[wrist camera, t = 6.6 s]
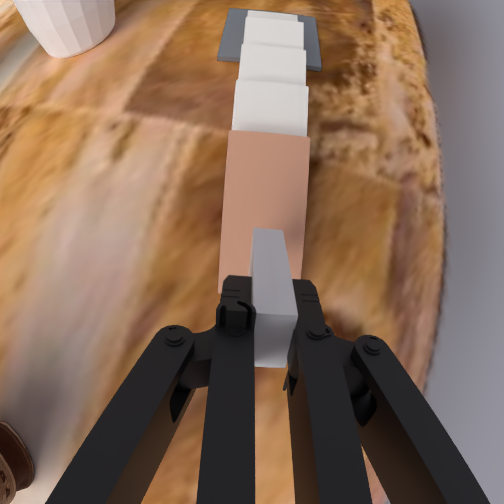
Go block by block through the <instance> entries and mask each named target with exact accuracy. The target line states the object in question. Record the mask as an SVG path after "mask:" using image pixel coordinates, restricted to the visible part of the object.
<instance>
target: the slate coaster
mask: <svg viewBox="0 0 504 504" xmlns="http://www.w3.org/2000/svg"><path fill="white" fill-rule="evenodd" d="M248 10H251V9H235V8H229V12H228V15H227V19H226V23H225V27H224V31H223V35H222V39H221V43H220V47H219V52H218V56H217V61H232V62H240V57H241V47H242V44H243V42H244V31H245V21H246V17H247V16H248ZM251 11H263V10H251ZM264 12H273V11H264ZM274 13H281V12H274ZM283 14H289V13H283ZM291 15H296V14H291ZM297 18H298V22H304V48H303V50H306V69H307V70H314V71H319V72H320V71H321V68H322V66H321V57H320V49H319V41H318V34H317V27H316V20H315V17H309V16H303V15H297Z"/></svg>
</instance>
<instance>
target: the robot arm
mask: <svg viewBox="0 0 504 504" xmlns="http://www.w3.org/2000/svg"><path fill="white" fill-rule="evenodd" d="M287 361H288V372H287V375H286V379H285V383H284V386H283V390H284V391H286V387H287V396H288V408H289V421H290V434H291V447H292V461H293V475H294V490H295V504H372V498H371V493H370V488H369V482H368V477H367V472H366V467H365V462H364V457H363V452H362V447H363V449H364V451H365V453H366V455H367V457H368V459H369V461H370V463H371V465H372V467H373V469H374V471H375V473H376V475H377V477H378V479H379V481H380V483H381V485H382V487H383V489H384V491H385V493H386V495H387V497H388V499H389V501H390V503H391V504H490V502H489V501H488V499H487V497H486V495H485V494H484V492H483V490H482V488H481V487H480V485H479V483H478V482H477V480H476V478H475V477H474V475H473V473H472V472H471V470H470V468H469V467H468V465H467V464H466V462H465V460H464V459H463V457H462V455H461V454H460V452H459V451H458V449H457V447H456V446H455V444H454V443H453V441H452V439H451V438H450V436H449V435H448V433H447V432H446V430H445V429H444V427H443V426H442V424H441V423H440V421H439V419H438V418H437V416H436V415H435V413H434V412H433V410H432V409H431V407H430V406H429V404H428V403H427V401H426V400H425V398H424V397H423V395H422V394H421V392H420V391H419V389H418V388H417V386H416V385H415V384H414V382H413V381H412V379H411V378H410V376H409V375H408V373H407V372H406V371H405V369H404V368H403V366H402V365H401V363H400V362H399V361H398V359H397V358H396V356H395V355H394V353H393V352H392V351H391V349H390V348H389V346H388V345H387V344H386V343H385V342H384V341H383V340H382V339H380V338H378V337H376V336H372V335H363V336H361V337H359V338H358V339H357V340H356V342H351V341H347V340H343V339H341V338H338V337H336V336H335V335H334V333H333V331H332V329H331V328H330V327H329V326H327V325H326V324H325V320H324V316H323V312H322V309H321V305H320V303H319V297H318V294H317V290H316V287H315V286H314V285H313V284H312V282H311V281H310V280H302V279H292V277H291V272H290V266H289V260H288V255H287V250H286V244H285V239H284V234H283V230H276V229H265V228H253V235H252V245H251V254H250V264H249V276H238V275H228V276H227V277H226V278H225V280H224V281H223V285H222V292H221V300H220V304H218V306H217V309H216V325H215V326H214V327H213V328H211V329H210V330H207V331H205V332H201V333H194V334H193V333H192V332H191V331H190V330H189V329H188V328H186V327H183V326H179V325H171V326H166V327H164V328H162V329H160V330H159V331H158V332H157V333H156V335H155V336H154V338H153V339H152V341H151V342H150V343H149V345H148V346H147V348H146V349H145V351H144V352H143V354H142V355H141V357H140V358H139V359H138V361H137V362H136V364H135V365H134V367H133V368H132V370H131V371H130V373H129V374H128V376H127V377H126V379H125V380H124V382H123V383H122V384H121V386H120V387H119V389H118V390H117V392H116V393H115V395H114V396H113V398H112V399H111V401H110V402H109V404H108V405H107V407H106V408H105V410H104V411H103V413H102V415H101V416H100V418H99V419H98V421H97V422H96V424H95V425H94V427H93V428H92V430H91V431H90V433H89V434H88V436H87V437H86V439H85V441H84V442H83V444H82V445H81V447H80V448H79V450H78V452H77V453H76V455H75V456H74V458H73V459H72V461H71V463H70V464H69V466H68V467H67V469H66V470H65V472H64V474H63V475H62V477H61V478H60V480H59V482H58V483H57V485H56V486H55V488H54V490H53V491H52V493H51V495H50V496H49V498H48V500H47V501H46V503H45V504H141V502H142V500H143V498H144V496H145V494H146V492H147V490H148V487H149V485H150V483H151V481H152V479H153V477H154V475H155V473H156V471H157V469H158V467H159V465H160V463H161V461H162V459H163V457H164V455H165V452H166V450H167V448H168V446H169V444H170V442H171V440H172V438H173V436H174V434H175V432H176V430H177V428H178V426H179V424H180V421H181V419H182V417H183V415H184V413H185V411H186V409H187V407H188V405H189V403H190V401H191V399H192V396H193V394H194V392H195V390H196V388H200V387H206V386H208V395H207V404H206V413H205V422H204V431H203V440H202V450H201V460H200V470H199V481H198V491H197V502H196V504H255V372H254V367H274V368H285V367H286V363H287ZM361 445H362V447H361Z"/></svg>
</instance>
